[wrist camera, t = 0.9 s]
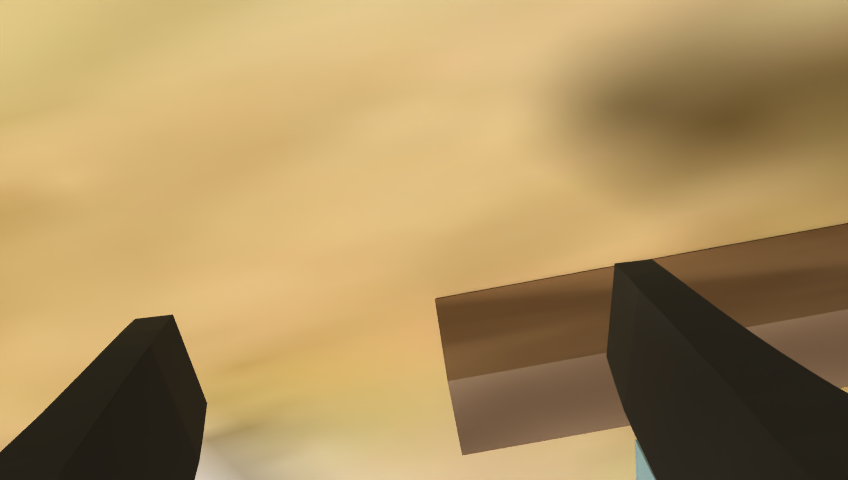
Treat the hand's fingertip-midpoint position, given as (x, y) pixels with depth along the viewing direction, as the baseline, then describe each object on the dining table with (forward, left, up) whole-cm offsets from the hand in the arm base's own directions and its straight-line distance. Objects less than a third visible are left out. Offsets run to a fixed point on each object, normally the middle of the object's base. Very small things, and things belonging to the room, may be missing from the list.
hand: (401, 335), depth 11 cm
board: (-8, -12, -11) cm, 18 cm away
